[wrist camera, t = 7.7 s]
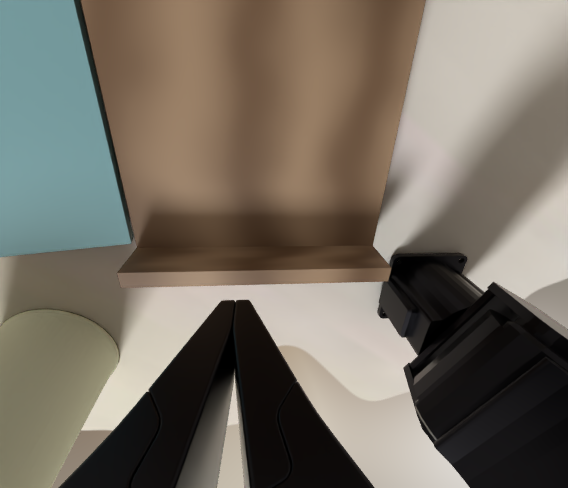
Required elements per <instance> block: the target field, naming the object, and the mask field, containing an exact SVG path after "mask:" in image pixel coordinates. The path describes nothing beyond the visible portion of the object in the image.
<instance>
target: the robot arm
mask: <svg viewBox="0 0 568 488" xmlns="http://www.w3.org/2000/svg"><path fill="white" fill-rule="evenodd" d="M398 259H400V260H399V261H398V262H396V261H397V260H398ZM459 259H460V260H459ZM466 262H467V257H466V256H465V255H463V254H461V253H441V254H396V255H394V256H393V257H392V258H391V261H390V265H389V266H390V267H391V272H390V276H389V280H388V281H384V284H383V287H382V291H381V295H380V299H379V308H378V315H379V316H380V318H389V319H390V321H391V323H392V324H393V326H394V327H395V329H396V330H397V332H398V334H399V335H400V336H401V337H406V338H407V340H408V341H409V343H410V344H411V346H412V347H413V349H414V350H415V352H416V354H417V355H418V356H417V357H416V358H415V359H414V360H413V361H412V362H411V363H408V364H407V365H406V366H405V367H404V372H405V375H406V379H407V382H408V386H409V389H410V392H411V396H412V399H413V403H414V406H415V409H416V413H417V416H418V418H419V421H420V423H421V427H422V429H423V430H424V432H425V433H426V434H427V435H428V437H429V438H430V440H431V441H432V442H433V444H434V446H435V448H436V449H437V450H438V451H439V452H440V453H441V454H442V455H443V456H444V457H445V458H446V459H447V460H448V461H449V462H450V463H451V465H452V466H453V467H454V468H455V469H456V471H457V472H458V473H459V474H460V475H461V477H462V478H463V479H464V480H465V482H466V483H467V484H468V486H469V487H470V488H568V329H567V328H565V327H564V326H562V325H561V324H559V323H558V322H557V321H555V320H553V319H552V318H551V317H549V316H548V315H547V314H545V313H544V312H542V311H541V310H539V309H538V308H536V307H535V306H533V305H532V304H530V303H528V302H526V301H525V300H523V299H522V298H520V297H518V296H517V295H515V294H513V293H512V292H510V291H508V290H507V289H505V288H503V287H502V286H500V285H498V284H497V283H495V282H493V283H492V284H491V285H490V286H489V287H488V290H487V291H486V292H484V291H482V290H481V289H480V288H479V287H477V286H476V285H475V284H474V283H473V282H471V281H470V280H469V279H468V278H466V277H465V276H464V275H463V274H462V271H463V269H464V267H465V264H466ZM383 312H384V313H383ZM234 375H235V383H236V395H237V407H238V419H239V429H240V442H241V454H242V465H243V477H244V488H374V487H373V485H372V484H371V483H370V481H369V480H368V479H367V477H366V476H365V475H364V473H363V472H362V471H361V469H360V468H359V467H358V466H357V464H356V463H355V462H354V460H353V459H352V458H351V457H350V455H349V454H348V453H347V451H346V450H345V449H344V447H343V446H342V445H341V444H340V442H339V441H338V440H337V438H336V437H335V436H334V435H333V433H332V432H331V431H330V429H329V428H328V426H327V425H326V424H325V422H324V421H323V420H322V418H321V417H320V415H319V414H318V413H317V411H316V410H315V408H314V407H313V405H312V404H311V402H310V401H309V399H308V397H307V396H306V394H305V392H304V391H303V389H302V387H301V386H300V384H299V383H298V382H297V379H296V378H295V376H294V374H293V372H292V371H291V369H290V367H289V366H288V364H287V362H286V361H285V359H284V358H283V356H282V354H281V352H280V351H279V349H278V347H277V345H276V344H275V342H274V340H273V339H272V337H271V335H270V334H269V332H268V330H267V329H266V327H265V325H264V324H263V322H262V320H261V319H260V317H259V315H258V314H257V312H256V310H255V308H254V307H253V305H252V303H251V302H250V301H249V300H237V301H236V303H235V301H234V300H225V301H221V302H220V303H219V304H218V306H217V307H216V308H215V309H214V310H213V312H212V313H211V314H210V315H209V316H208V318H207V319H206V320H205V321H204V323H203V324H202V325H201V326H200V327H199V329H198V330H197V331H196V332H195V333H194V335H193V336H192V337H191V338H190V340H189V341H188V342H187V343H186V344H185V346H184V347H183V348H182V349H181V351H180V352H179V353H178V354H177V355H176V357H175V358H174V359H173V360H172V361H171V363H170V364H169V365H168V366H167V368H166V369H165V370H164V371H163V372H162V374H161V375H160V376H159V377H158V378H157V380H156V381H155V382H154V383H153V385H152V386H151V387H150V388H149V392H146V393H145V394H144V395H143V397H142V398H141V399H140V400H139V401H138V403H137V404H136V405H135V406H134V407H133V409H132V410H131V411H130V412H129V413H128V414H127V415H126V417H125V418H124V419H123V420H122V421H121V422H120V424H119V425H118V426H117V427H116V428H115V429H114V430H113V431H112V432H111V434H110V435H109V436H108V437H107V438H106V439H105V440H104V441H103V442H102V443H101V444H100V445H99V446H98V447H97V449H96V450H95V451H94V452H93V453H92V454H91V455H90V456H89V457H88V458H87V459H86V460H85V461H84V462H83V463H82V464H81V465H80V466H79V467H78V468H77V469H76V470H75V471H74V472H73V473H72V474H71V475H70V476H69V477H68V478H67V479H66V480H65V482H64V483H63V484H62V485H61V486H60V487H59V488H217V484H218V477H219V471H220V464H221V459H222V452H223V446H224V440H225V434H226V427H227V421H228V415H229V409H230V402H231V396H232V390H233V383H234Z"/></svg>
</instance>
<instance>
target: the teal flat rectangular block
mask: <svg viewBox="0 0 568 488" xmlns="http://www.w3.org/2000/svg"><path fill="white" fill-rule="evenodd" d="M132 239H133V231H132V227H131V222H130V218H129V214H128V209H127V205H126V201H125V196H124V192H123V188H122V183H121V179H120V174H119V170H118V166H117V161H116V157H115V153H114V148H113V144H112V140H111V135H110V131H109V126H108V122H107V118H106V113H105V109H104V105H103V100H102V96H101V92H100V87H99V83H98V78H97V74H96V70H95V65H94V61H93V57H92V52H91V48H90V44H89V39H88V35H87V30H86V26H85V22H84V17H83V13H82V9H81V4H80V0H0V257H6V256H16V255H26V254H35V253H45V252H55V251H64V250H74V249H84V248H94V247H103V246H113V245H123V244H131V243H132Z"/></svg>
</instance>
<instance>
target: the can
mask: <svg viewBox="0 0 568 488" xmlns="http://www.w3.org/2000/svg"><path fill="white" fill-rule="evenodd" d="M118 360H119V351H118V348H117V345H116V343H115V342H114V340H113V338H112V337H111V336H110V335H109V334H108V333H107V332H106V331H105V330H104V329H103V328H102V327H100V326H99V325H97V324H96V323H94V322H93V321H91V320H89V319H87V318H84V317H82V316H79V315H77V314H73V313H70V312H65V311H61V310H52V309H39V310H31V311H26V312H22V313H19V314H17V315H15V316H13V317H11V318H9V319H8V320H6V321H5V322H4V323H3V324H2V325H1V326H0V488H51V487H52V485H53V483H54V481H55V479H56V477H57V475H58V473H59V471H60V469H61V467H62V466H63V464H64V462H65V460H66V458H67V456H68V454H69V452H70V450H71V448H72V446H73V444H74V442H75V440H76V438H77V437H78V434H79V433H80V431H81V429H82V427H83V425H84V423H85V421H86V419H87V418H88V416H89V414H90V412H91V410H92V408H93V406H94V404H95V402H96V400H97V399H98V397H99V395H100V393H101V391H102V389H103V387H104V386H105V384H106V382H107V380H108V379H109V377H110V375H111V374H112V373H113V372H114V370H115V369H116V367H117V364H118Z"/></svg>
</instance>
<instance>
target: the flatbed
mask: <svg viewBox="0 0 568 488" xmlns="http://www.w3.org/2000/svg"><path fill="white" fill-rule="evenodd" d="M425 1H426V0H81V3H82V8H83V12H84V17H85V21H86V25H87V30H88V34H89V39H90V43H91V47H92V52H93V56H94V61H95V65H96V69H97V74H98V78H99V83H100V87H101V91H102V96H103V100H104V104H105V109H106V113H107V118H108V122H109V126H110V131H111V135H112V140H113V144H114V148H115V153H116V157H117V162H118V166H119V170H120V175H121V179H122V184H123V188H124V192H125V197H126V201H127V206H128V210H129V214H130V219H131V223H132V227H133V232H134V236H135V241H136V245H137V248H136V250H135V251H134V252H133V253H132V255H131V256H130V257H129V258H128V260H127V261H126V262H125V264H124V265H123V266H122V267H121V269H120V270H119V271H118V272H117V275H118V279H119V283H120V286H121V288H136V287H177V286H218V285H259V284H300V283H341V282H381V281H388V280H389V276H390V272H391V267H390V266H389V264H388V263H387V262H386V261H385V260H384V258H383V257H382V256H381V255H380V254H379V252H378V251H377V250H376V249H375V248H374V247H373V242H374V237H375V232H376V228H377V223H378V219H379V214H380V209H381V205H382V200H383V195H384V191H385V186H386V182H387V177H388V172H389V168H390V163H391V158H392V154H393V149H394V144H395V140H396V135H397V131H398V126H399V121H400V117H401V112H402V107H403V103H404V98H405V94H406V89H407V84H408V80H409V75H410V70H411V66H412V61H413V57H414V52H415V47H416V43H417V38H418V33H419V29H420V24H421V20H422V15H423V10H424V6H425Z"/></svg>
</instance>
